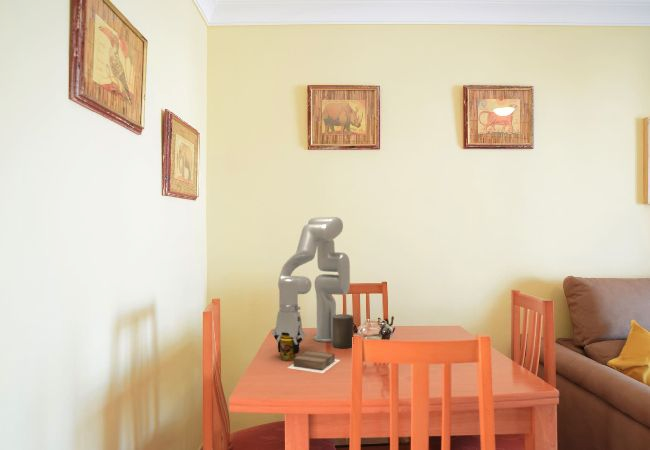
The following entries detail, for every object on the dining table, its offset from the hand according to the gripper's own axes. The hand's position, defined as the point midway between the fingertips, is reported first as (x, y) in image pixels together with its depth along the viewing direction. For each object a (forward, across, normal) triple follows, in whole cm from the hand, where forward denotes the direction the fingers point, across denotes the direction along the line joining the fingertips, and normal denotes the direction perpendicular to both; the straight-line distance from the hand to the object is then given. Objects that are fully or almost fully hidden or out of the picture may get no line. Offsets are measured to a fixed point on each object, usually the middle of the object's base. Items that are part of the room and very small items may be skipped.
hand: (288, 352), depth 166 cm
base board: (+3, -13, +2) cm, 13 cm away
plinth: (+3, -13, +2) cm, 13 cm away
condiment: (+4, +1, -1) cm, 4 cm away
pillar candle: (+3, -12, -29) cm, 32 cm away
